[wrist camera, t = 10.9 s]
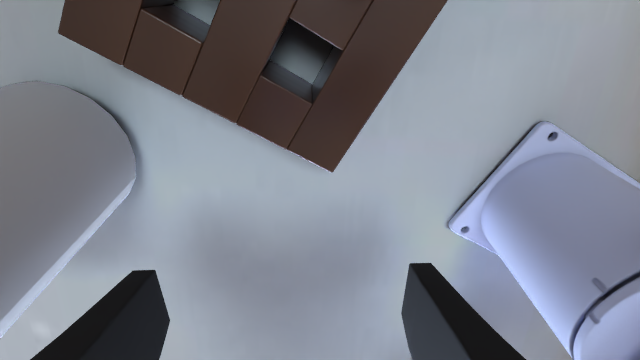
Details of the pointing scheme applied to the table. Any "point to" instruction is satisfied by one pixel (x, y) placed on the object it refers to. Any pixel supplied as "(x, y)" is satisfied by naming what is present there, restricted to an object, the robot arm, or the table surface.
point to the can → (53, 184)
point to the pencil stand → (263, 60)
